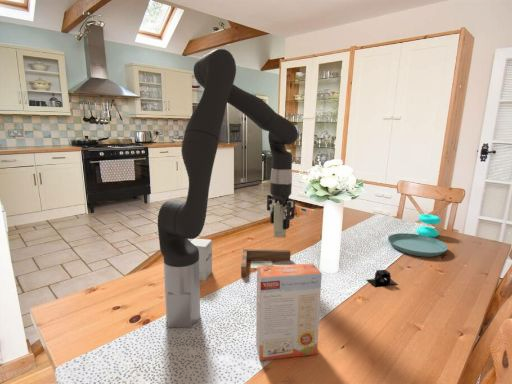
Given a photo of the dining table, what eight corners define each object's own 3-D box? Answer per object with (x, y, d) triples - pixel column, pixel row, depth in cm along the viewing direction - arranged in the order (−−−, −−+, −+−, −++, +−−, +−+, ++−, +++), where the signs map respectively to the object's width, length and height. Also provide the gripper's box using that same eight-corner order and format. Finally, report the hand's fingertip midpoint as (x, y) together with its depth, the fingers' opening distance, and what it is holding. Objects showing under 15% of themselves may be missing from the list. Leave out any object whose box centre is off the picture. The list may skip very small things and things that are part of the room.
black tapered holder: (371, 290, 102) (373, 278, 101) (360, 280, 109) (361, 268, 108) (404, 287, 104) (405, 275, 103) (390, 277, 111) (392, 265, 110)
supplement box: (205, 281, 104) (205, 246, 102) (185, 278, 106) (184, 244, 103) (212, 271, 111) (212, 239, 109) (194, 269, 113) (193, 237, 110)
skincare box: (285, 238, 107) (287, 204, 105) (273, 237, 107) (274, 204, 105) (284, 232, 113) (286, 200, 111) (272, 231, 113) (274, 200, 111)
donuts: (414, 213, 159) (430, 213, 161) (412, 232, 161) (427, 230, 163) (429, 219, 149) (445, 218, 152) (426, 238, 151) (443, 237, 154)
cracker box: (309, 338, 77) (314, 262, 72) (317, 355, 71) (323, 273, 67) (254, 343, 74) (256, 264, 70) (258, 361, 69) (260, 277, 64)
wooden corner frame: (294, 278, 108) (295, 267, 107) (241, 277, 108) (241, 266, 107) (289, 259, 124) (290, 250, 123) (242, 258, 123) (243, 249, 123)
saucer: (398, 235, 155) (398, 229, 155) (452, 249, 139) (453, 242, 138) (378, 247, 138) (379, 241, 138) (438, 264, 122) (439, 257, 121)
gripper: (261, 179, 110) (260, 222, 114) (284, 185, 98) (282, 233, 102) (278, 177, 114) (276, 219, 117) (302, 183, 102) (300, 230, 105)
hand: (279, 225), depth 110 cm, fingers closed on skincare box, 7 cm apart
